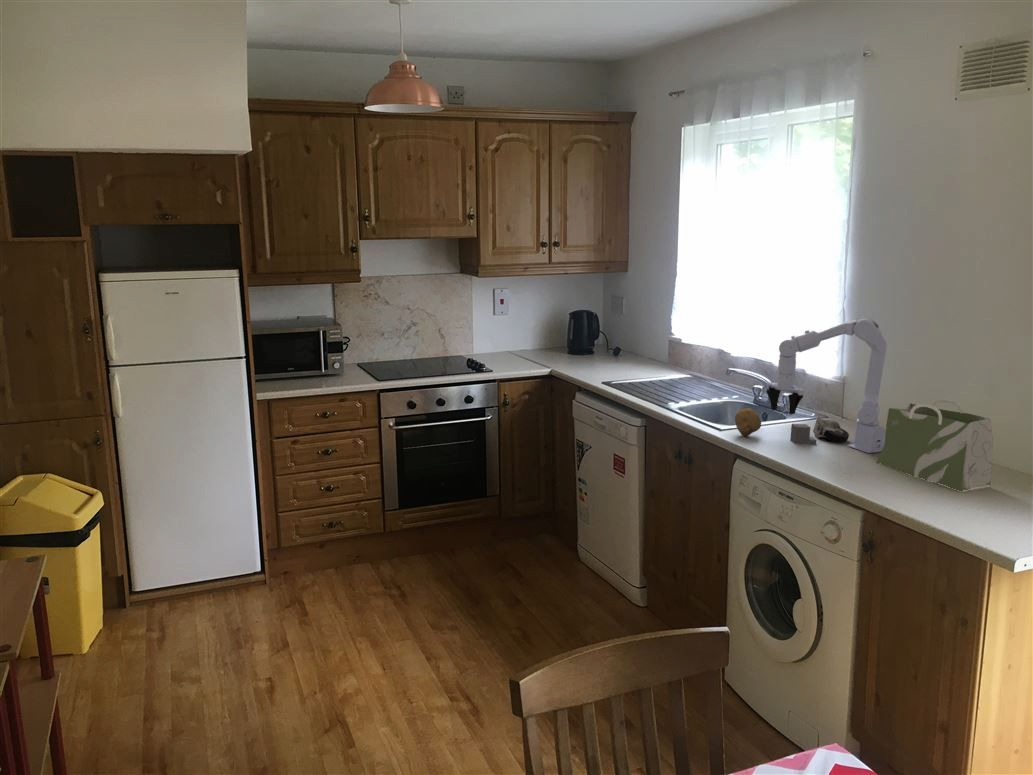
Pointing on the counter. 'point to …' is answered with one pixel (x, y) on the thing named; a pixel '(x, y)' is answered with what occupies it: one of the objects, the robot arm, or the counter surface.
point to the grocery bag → (939, 445)
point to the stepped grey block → (801, 434)
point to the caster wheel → (830, 430)
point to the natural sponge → (747, 421)
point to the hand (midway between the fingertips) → (783, 411)
